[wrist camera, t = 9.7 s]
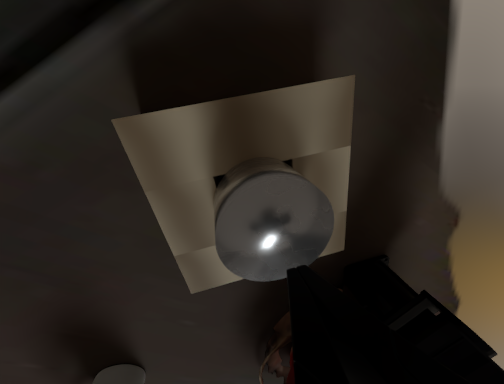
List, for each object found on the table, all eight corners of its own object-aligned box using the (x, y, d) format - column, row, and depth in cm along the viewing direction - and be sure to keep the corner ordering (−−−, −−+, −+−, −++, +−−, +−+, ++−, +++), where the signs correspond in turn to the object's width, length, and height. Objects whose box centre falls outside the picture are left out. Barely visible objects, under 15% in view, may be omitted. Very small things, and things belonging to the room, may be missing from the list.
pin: (277, 135, 17) (335, 165, 9) (284, 199, 20) (333, 263, 12) (203, 151, 17) (199, 197, 9) (221, 215, 20) (230, 293, 12)
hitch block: (314, 82, 16) (355, 74, 12) (317, 220, 22) (344, 249, 18) (140, 114, 15) (111, 119, 10) (195, 252, 21) (191, 293, 16)
